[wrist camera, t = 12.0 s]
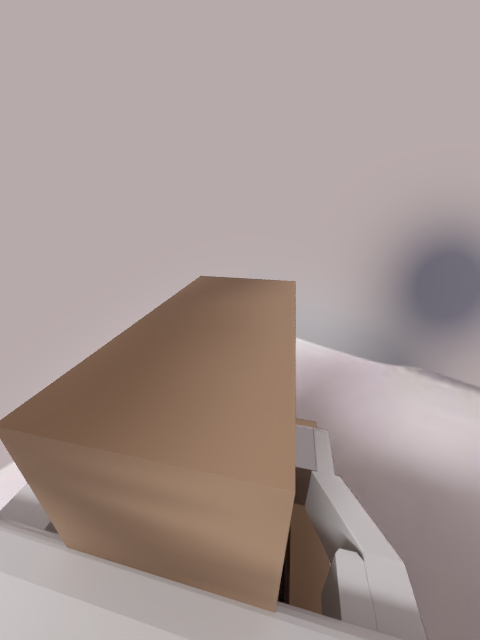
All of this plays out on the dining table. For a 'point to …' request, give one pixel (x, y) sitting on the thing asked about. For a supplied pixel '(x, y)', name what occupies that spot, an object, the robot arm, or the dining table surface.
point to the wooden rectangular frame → (304, 558)
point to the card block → (176, 441)
